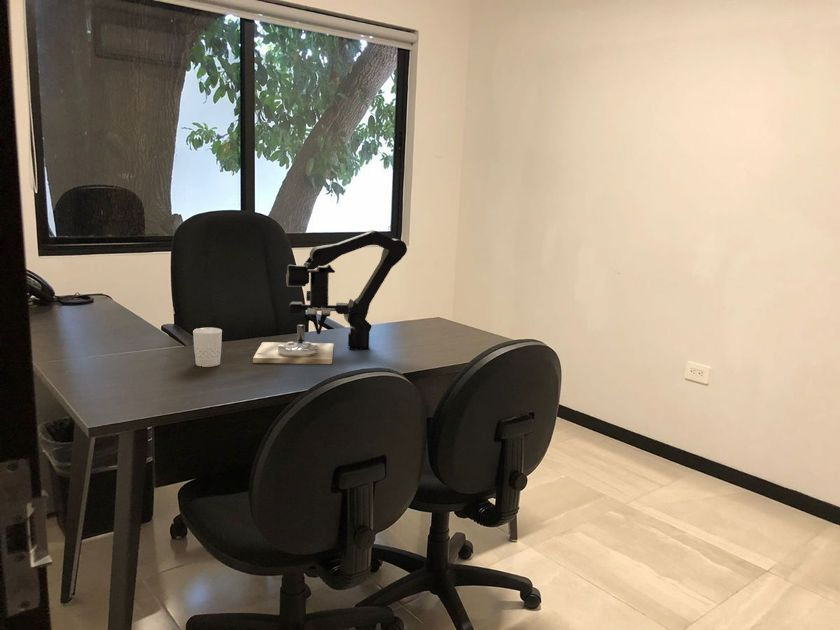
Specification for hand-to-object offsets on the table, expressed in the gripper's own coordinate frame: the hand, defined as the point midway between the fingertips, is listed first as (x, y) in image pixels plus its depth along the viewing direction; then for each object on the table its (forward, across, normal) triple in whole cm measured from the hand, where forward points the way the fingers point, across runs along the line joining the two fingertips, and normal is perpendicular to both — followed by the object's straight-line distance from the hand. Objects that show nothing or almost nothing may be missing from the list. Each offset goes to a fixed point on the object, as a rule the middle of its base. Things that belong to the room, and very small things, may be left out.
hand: (318, 334), depth 209 cm
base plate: (+5, +7, +8) cm, 12 cm away
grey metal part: (+3, +6, +8) cm, 10 cm away
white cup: (+5, +31, +20) cm, 37 cm away
